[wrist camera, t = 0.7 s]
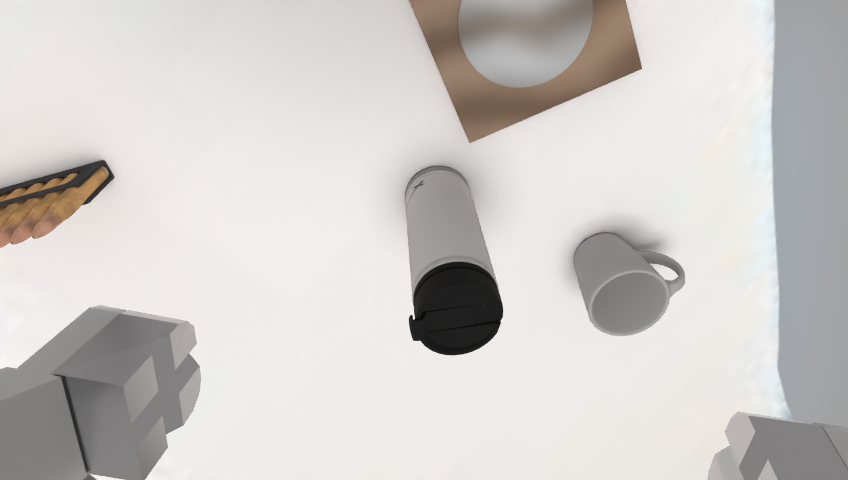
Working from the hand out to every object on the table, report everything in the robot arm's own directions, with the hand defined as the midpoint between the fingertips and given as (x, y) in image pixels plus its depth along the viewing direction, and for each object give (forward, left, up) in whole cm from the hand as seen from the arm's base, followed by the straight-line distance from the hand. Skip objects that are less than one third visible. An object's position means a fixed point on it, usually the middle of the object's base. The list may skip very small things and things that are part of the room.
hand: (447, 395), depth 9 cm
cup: (+32, +10, -45) cm, 56 cm away
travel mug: (+18, -4, -45) cm, 49 cm away
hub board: (+6, +9, -45) cm, 46 cm away
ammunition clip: (+2, -35, -45) cm, 57 cm away
